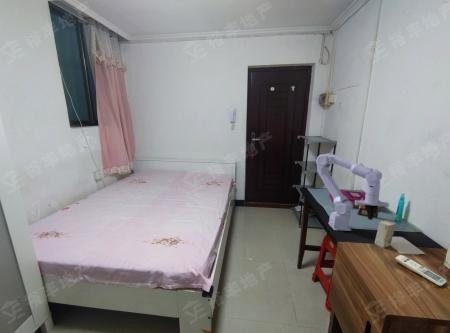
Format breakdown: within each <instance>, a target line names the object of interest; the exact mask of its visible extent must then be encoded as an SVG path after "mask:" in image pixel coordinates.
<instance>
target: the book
mask: <svg viewBox="0 0 450 333" xmlns="http://www.w3.org/2000/svg"><path fill="white" fill-rule="evenodd" d="M340 191H341V193H342V194H343V195H344V196H345V197H347V199H348V200H349V201H351V202H352V204H353V208H352V209H356V210H359V206H360V205H355V200H357V201H359V200H361V199H362V198H363V200H365V195H366V191H363V192H362V191H354V190H345V189H340ZM330 197H331V198H330ZM329 198H330V199H332V200H333V201H332V200H331V201H332V203H333V202H334V199H333V197H332V195H331V194H330V193H329ZM379 201H380V200H379ZM380 202H382V201H380ZM362 207H363V206H362ZM379 212H380V209H379V210H378V213H379Z"/></svg>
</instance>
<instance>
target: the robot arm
mask: <svg viewBox="0 0 450 333" xmlns="http://www.w3.org/2000/svg"><path fill="white" fill-rule="evenodd" d="M315 163H316V170H317V174H318V175H319V177H320V178H321V180H322V182H323V184H324V185H325V187H326V189H327V190H328V192H329V195H330V194H331V195H332V197H333V199H334V203H333V205H334V209H335V211H333V212H331V213H330V214H329V221H328V225H329V226H330V227H331V228H332V229H333V230H334V231H349V232H350V231H351V232H352V229H351V228H350V227H349V224H350V218H351V211H352V210H353V209H354V208H353V204H352V202H351V201H349V200H348V199H347V197H345V196H344V195H343V194H342V193H341V191H340V190H341V189H340V187H339V186H338V185H337V183H336V181H335V180H334V179H333V178H334V177H332V175H331V173H330V172H329V170H330V166H331V165H337V166H340V167H342V168H346V169H348V170H350V172H351V173H352V174H353V175H357V176H358V177H360V178H363V179H365V180H366V185H365V187H366V188H365V193H366V195H365V200H359V201H357V200H355V205H364V206H365V208H366V211H367V214H368V217H367V218H368V220H369V221H370V220H371V221H372V220H373V219H374V218H373V216H374V214H375V213H376V212H377V210H378V209H379V208H380V207H384V208H390V203H389V202H387V201H386V202H385V201H381V202H379V201H380V190H381V179H382V178H383V174H382V172H381V170H378V169H373V167H368V166H365V165H364V164H363V163H361V162H360V163H352V162H350V161H348V160H347V159H344V158H341V157H340V156H337V155H335V154H332V153H330V152H329V153H324V154H320V155H318V156H317V158H316V160H315ZM378 206H379V208H378ZM379 210H380V209H379Z"/></svg>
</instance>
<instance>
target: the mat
mask: <svg viewBox="0 0 450 333" xmlns="http://www.w3.org/2000/svg"><path fill="white" fill-rule="evenodd" d="M389 247H391V248H393V249H394V250H395V251H396V250H397V251H396V252H397V253H398V254H401V255H419V254H425V255H426V253H425V252H424V251H423V250H421V249H419V248H418V247H417V246H415V245H414V244H413V243H412V242H410V241H409V240H407V239H406V238H404V237H402V236H393V237H392V241H391V245H390V246H389Z"/></svg>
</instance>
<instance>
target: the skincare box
mask: <svg viewBox="0 0 450 333" xmlns="http://www.w3.org/2000/svg"><path fill="white" fill-rule="evenodd" d="M378 222H379V223H378V227H377V232H376V235H375V240H374V244H375V245H377V246H378V247H380V248H382V249H383V248H388V247H391V246H390V245H391V241H392V237H394V234H395V233H394V232H395V230H396V226H397V225H396V224H397V223H395V222H392V221H391V220H388V219H385V220H381V221H378Z"/></svg>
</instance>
